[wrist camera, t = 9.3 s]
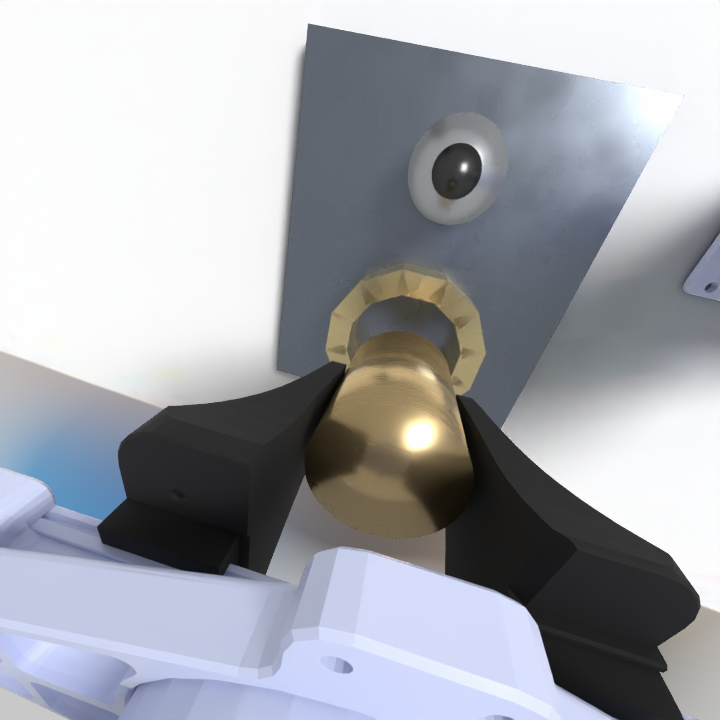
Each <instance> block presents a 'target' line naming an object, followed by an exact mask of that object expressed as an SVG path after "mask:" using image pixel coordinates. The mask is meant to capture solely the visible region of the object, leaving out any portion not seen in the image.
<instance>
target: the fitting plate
mask: <svg viewBox="0 0 720 720" xmlns="http://www.w3.org/2000/svg"><path fill="white" fill-rule="evenodd" d="M683 97H684V96H683V95H677V94H672V93H667V92H662V91H657V90H651V89H646V88H641V87H636V86H631V85H625V84H620V83H615V82H610V81H604V80H599V79H594V78H589V77H584V76H578V75H573V74H568V73H563V72H558V71H552V70H547V69H542V68H537V67H532V66H526V65H521V64H516V63H511V62H505V61H500V60H495V59H490V58H485V57H479V56H474V55H469V54H464V53H459V52H453V51H448V50H443V49H438V48H433V47H427V46H422V45H417V44H412V43H407V42H401V41H396V40H391V39H386V38H380V37H375V36H370V35H365V34H360V33H354V32H349V31H344V30H339V29H334V28H328V27H323V26H318V25H313V24H308V30H307V41H306V52H305V63H304V75H303V86H302V97H301V108H300V119H299V130H298V141H297V152H296V163H295V174H294V185H293V196H292V208H291V219H290V230H289V241H288V252H287V263H286V274H285V285H284V296H283V307H282V318H281V330H280V341H279V352H278V363H277V370H279V371H283V372H286V373H290V374H294V375H297V376H301V377H304V376H306V375H308V374H309V373H311V372H313V371H315V370H317V369H318V368H320V367H322V366H324V365H325V364H327V363H329V362H331V361H335V362H339V363H343V364H346V365H347V366H346V370H347V368H348V366H349V364H350V362H351V361H352V359H353V357H354V355H355V353H356V352H357V350H358V349H359V348H360V347H361V345H363V344H364V343H365V342H366V341H367V340H369V339H370V338H372V337H374V336H376V335H378V334H381V333H384V332H389V331H407V332H412V333H415V334H418V335H420V336H423V337H425V338H426V339H428V340H429V341H431V342H432V343H433V344H434V345H436V347H437V348H438V349H439V350H440V351H441V353H442V354H443V355H444V357H445V359H446V362H447V364H448V368H449V372H450V376H451V380H452V384H453V388H454V392H455V396H456V395H457V394H458V395H461V396H465V397H469V398H472V399H473V400H474V401H475V402H476V403H477V404H478V405H479V406H480V407H481V408H482V409H483V410H484V411H485V413H486V414H487V415H488V416H489V417H490V418H491V420H492V421H493V422H494V423H495V424H496V425H497V426H498V427H499V429H501V427H502V425H503V423H504V422H505V420H506V418H507V416H508V414H509V413H510V411H511V409H512V407H513V405H514V403H515V402H516V400H517V398H518V396H519V394H520V393H521V391H522V389H523V387H524V385H525V383H526V382H527V380H528V378H529V376H530V374H531V373H532V371H533V369H534V367H535V365H536V364H537V362H538V360H539V358H540V356H541V354H542V353H543V351H544V349H545V347H546V345H547V344H548V342H549V340H550V338H551V336H552V334H553V333H554V331H555V329H556V327H557V325H558V324H559V322H560V320H561V318H562V316H563V315H564V313H565V311H566V309H567V307H568V305H569V304H570V302H571V300H572V298H573V296H574V295H575V293H576V291H577V289H578V287H579V285H580V284H581V282H582V280H583V278H584V276H585V275H586V273H587V271H588V269H589V267H590V266H591V264H592V262H593V260H594V258H595V256H596V255H597V253H598V251H599V249H600V247H601V246H602V244H603V242H604V240H605V238H606V236H607V235H608V233H609V231H610V229H611V227H612V226H613V224H614V222H615V220H616V218H617V217H618V215H619V213H620V211H621V209H622V207H623V206H624V204H625V202H626V200H627V198H628V197H629V195H630V193H631V191H632V189H633V187H634V186H635V184H636V182H637V180H638V178H639V177H640V175H641V173H642V171H643V169H644V168H645V166H646V164H647V162H648V160H649V158H650V157H651V155H652V153H653V151H654V149H655V148H656V146H657V144H658V142H659V140H660V138H661V137H662V135H663V133H664V131H665V129H666V128H667V126H668V124H669V122H670V120H671V119H672V117H673V115H674V113H675V111H676V109H677V108H678V106H679V104H680V102H681V100H682V99H683ZM345 372H346V371H345Z"/></svg>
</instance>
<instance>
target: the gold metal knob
mask: <svg viewBox="0 0 720 720" xmlns="http://www.w3.org/2000/svg"><path fill="white" fill-rule="evenodd" d="M304 468H305V475H306V479H307V482H308V484H309V487H310V489H311V491H312V492H313V494H314V496H315V497H316V499H317V500H318V501H319V503H320V504H321V505H322V506H323V507H324V508H325V509H326V510H327V511H328V512H329V513H330V514H331V515H333V516H334V517H335V518H337V519H338V520H340V521H341V522H343V523H344V524H346V525H348V526H350V527H352V528H354V529H356V530H359V531H361V532H364V533H367V534H371V535H375V536H379V537H385V538H396V539H404V538H415V537H421V536H425V535H429V534H432V533H434V532H437V531H439V530H441V529H443V528H445V527H447V526H448V525H450V524H451V523H453V522H454V521H455V520H456V519H457V518H458V517H459V516H460V515H461V514H462V513H463V512H464V510H465V509H466V507H467V506H468V504H469V502H470V500H471V497H472V494H473V489H474V472H473V466H472V462H471V458H470V454H469V450H468V446H467V442H466V438H465V433H464V429H463V425H462V421H461V417H460V413H459V409H458V405H457V401H456V396H455V392H454V388H453V384H452V380H451V376H450V372H449V368H448V364H447V362H446V359H445V357H444V355H443V354H442V353H441V351H440V350H439V349H438V348H437V347H436V345H434V344H433V343H432V342H431V341H429V340H428V339H426V338H425V337H423V336H420V335H418V334H415V333H412V332H407V331H389V332H384V333H381V334H378V335H376V336H374V337H372V338H370V339H369V340H367V341H366V342H365V343H364V344H363V345H361V347H360V348H359V349H358V350H357V352H356V353H355V355H354V357H353V359H352V361H351V362H350V364H349V366H348V368H347V370H346V372H345V374H344V376H343V378H342V380H341V382H340V383H339V385H338V387H337V389H336V391H335V393H334V395H333V397H332V399H331V401H330V403H329V404H328V406H327V408H326V410H325V412H324V414H323V416H322V418H321V420H320V422H319V423H318V425H317V427H316V429H315V431H314V433H313V435H312V437H311V439H310V441H309V443H308V446H307V448H306V452H305V459H304Z"/></svg>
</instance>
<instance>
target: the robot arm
mask: <svg viewBox="0 0 720 720" xmlns="http://www.w3.org/2000/svg"><path fill="white" fill-rule="evenodd" d="M710 283H711V287H710V288H709V289H708V290H706V291H705V287H706V286H707V285H708V284H710ZM683 289H684V291H685V292H687V293H689V294H692V295H696V296H701V297H705V298H709V299H713V300H717V301H720V233H719V235H718V236H717V238H716V239H715V240H714V242H713V243H712V245H711V246H710V247H709V249H708V250H707V252H706V253H705V254H704V256H703V257H702V259H701V260H700V261H699V263H698V264H697V266H696V267H695V268H694V270H693V271H692V273H691V274H690V276H689V277H688V278H687V280H686V281H685V283H684V285H683ZM346 366H347V365H346V364H343V363H339V362H335V361H331V362H329V363H327V364H325V365H324V366H322V367H320V368H318V369H317V370H315V371H313V372H311V373H309V374H308V375H306V376H304V377H302V378H300V379H297V380H295V381H293V382H291V383H289V384H286V385H284V386H281V387H279V388H276V389H273V390H270V391H267V392H264V393H260V394H256V395H252V396H248V397H244V398H240V399H234V400H229V401H223V402H215V403H208V404H197V405H183V406H168V407H166V408H165V409H164V410H162V411H161V412H159V413H158V414H157V415H155V416H154V417H153V418H151V419H150V420H149V421H147V422H146V423H145V424H143V425H142V426H141V427H139V428H138V429H137V430H135V431H134V432H133V433H131V434H130V435H128V436H127V437H126V438H125V439H124V440H123V441H122V442H121V444H120V447H119V450H118V459H119V467H120V471H121V475H122V480H123V484H124V488H125V492H126V496H127V499H126V500H125V501H124V502H123V503H122V504H120V505H119V506H118V507H117V508H116V509H115V510H114V511H113V512H112V513H111V514H110V515H109V516H108V517H107V518H106V519H105V520H104V521H102V520H99V519H96V518H93V517H90V516H87V515H83V514H81V513H78V512H74V511H72V510H69V509H66V508H62V507H60V506H57V505H55V498H54V495H53V492H52V491H51V489H50V488H49V487H48V486H47V485H46V484H45V483H44V482H42V481H40V480H38V479H36V478H32V477H30V476H26V475H23V474H20V473H17V472H14V471H11V470H8V469H5V468H0V687H2V688H4V689H6V690H9V691H11V692H13V693H15V694H17V695H19V696H21V697H23V698H25V699H27V700H29V701H32V702H34V703H36V704H38V705H40V706H42V707H44V708H46V709H48V710H50V711H53V712H55V713H57V714H59V715H61V716H63V717H65V718H67V719H69V720H698V719H695V718H691V717H689V716H685V715H682V714H681V712H680V710H679V708H678V706H677V705H676V703H675V701H674V699H673V697H672V695H671V693H670V691H669V689H668V687H667V685H666V684H665V682H664V680H663V678H662V676H661V674H660V672H663V673H664V672H665V671H667V664H666V662H665V660H664V658H663V656H662V655H661V653H660V651H659V649H658V647H657V646H659V645H660V644H662V643H663V642H665V641H666V640H668V639H669V638H671V637H672V636H674V635H675V634H677V633H678V632H680V631H681V630H683V629H685V628H686V627H687V626H688V625H689V624H690V623H692V622H693V621H694V620H695V618H696V616H697V614H698V611H699V609H700V598H699V595H698V593H697V592H696V591H695V589H694V588H693V586H692V585H691V584H690V582H689V581H688V579H687V578H686V577H685V575H684V574H683V572H682V571H681V570H680V568H679V567H678V565H677V564H676V563H675V561H674V560H673V558H672V557H671V556H670V555H669V554H668V553H666V552H665V551H663V550H661V549H659V548H658V547H656V546H654V545H653V544H651V543H649V542H647V541H646V540H644V539H642V538H641V537H639V536H637V535H635V534H634V533H632V532H630V531H629V530H627V529H625V528H623V527H622V526H620V525H619V524H617V523H615V522H614V521H612V520H611V519H609V518H608V517H606V516H605V515H603V514H601V513H600V512H598V511H597V510H595V509H594V508H592V507H591V506H589V505H588V504H587V503H585V502H584V501H582V500H581V499H579V498H578V497H576V496H575V495H574V494H572V493H571V492H570V491H568V490H567V489H566V488H564V487H563V486H562V485H560V484H559V483H558V482H556V481H555V480H554V479H553V478H551V477H550V476H549V475H548V474H546V473H545V472H544V471H543V470H542V469H541V468H540V467H538V466H537V465H536V464H535V463H534V462H533V461H531V460H530V459H529V458H528V457H527V456H526V455H525V454H524V453H523V452H522V451H521V450H520V449H519V448H518V447H517V446H516V445H515V444H514V443H513V442H512V441H511V440H510V439H509V438H508V437H507V436H506V435H505V434H504V433H503V432H502V431H501V430H500V429H499V427H498V426H497V425H496V424H495V423H494V422H493V421H492V420H491V418H490V417H489V416H488V415H487V414H486V413H485V411H484V410H483V409H482V408H481V407H480V406H479V405H478V404H477V403H476V402H475V401H474V400H473V399H472V398H469V397H465V396H461V395H458V394H457V395H456V401H457V405H458V409H459V413H460V417H461V421H462V425H463V429H464V433H465V438H466V442H467V446H468V450H469V454H470V458H471V462H472V466H473V472H474V489H473V494H472V497H471V500H470V502H469V504H468V506H467V507H466V509H465V510H464V512H463V513H462V514H461V515H460V516H459V517H458V518H457V519H456V520H455V521H454V522H453V523H451V524H450V525H448V526H447V527H446V555H445V556H446V557H445V574H442V573H439V572H435V571H432V570H429V569H426V568H423V567H420V566H417V565H414V564H410V563H407V562H404V561H401V560H398V559H395V558H392V557H388V556H385V555H382V554H379V553H376V552H373V551H370V550H364V549H357V548H350V547H344V546H340V547H336V548H332V549H328V550H324V551H321V552H318V553H316V554H315V555H314V556H313V557H312V559H311V560H310V561H309V563H308V564H307V565H306V566H305V569H304V572H303V575H302V578H301V581H300V584H299V585H293V584H290V583H287V582H284V581H281V580H278V579H275V578H272V577H269V576H266V572H267V569H268V567H269V564H270V561H271V559H272V556H273V553H274V551H275V548H276V546H277V543H278V540H279V538H280V535H281V533H282V530H283V527H284V525H285V522H286V520H287V517H288V515H289V512H290V510H291V507H292V505H293V502H294V500H295V497H296V495H297V492H298V490H299V487H300V485H301V483H302V480H303V478H304V476H305V468H304V459H305V452H306V448H307V446H308V443H309V441H310V439H311V437H312V435H313V433H314V431H315V429H316V427H317V425H318V423H319V422H320V420H321V418H322V416H323V414H324V412H325V410H326V408H327V406H328V404H329V403H330V401H331V399H332V397H333V395H334V393H335V391H336V389H337V387H338V385H339V383H340V382H341V380H342V378H343V376H344V374H345V371H346Z"/></svg>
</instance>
